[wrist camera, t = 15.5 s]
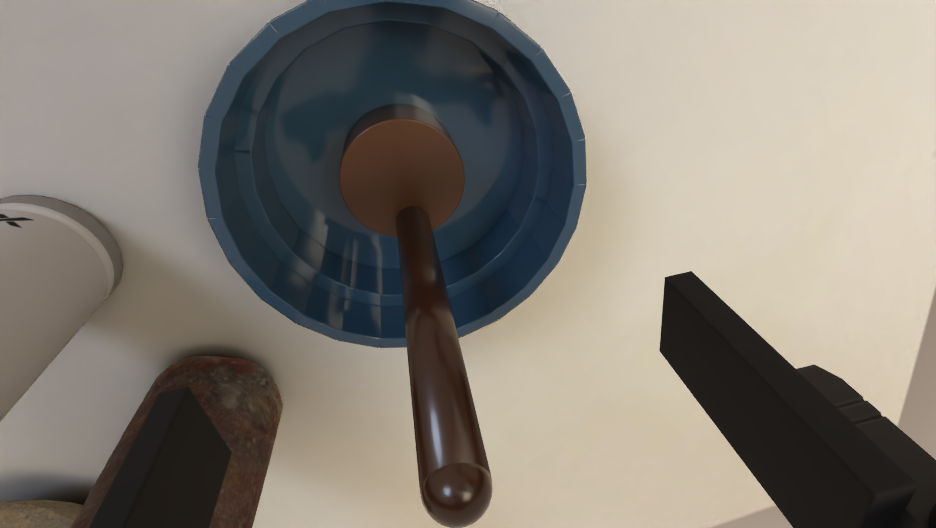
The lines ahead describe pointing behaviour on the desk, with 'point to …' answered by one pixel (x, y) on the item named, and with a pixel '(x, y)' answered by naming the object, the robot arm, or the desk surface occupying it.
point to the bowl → (38, 514)
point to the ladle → (423, 294)
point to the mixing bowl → (321, 148)
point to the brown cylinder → (236, 419)
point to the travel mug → (47, 284)
